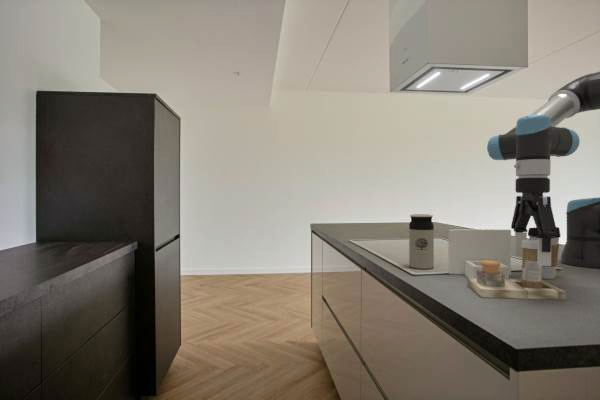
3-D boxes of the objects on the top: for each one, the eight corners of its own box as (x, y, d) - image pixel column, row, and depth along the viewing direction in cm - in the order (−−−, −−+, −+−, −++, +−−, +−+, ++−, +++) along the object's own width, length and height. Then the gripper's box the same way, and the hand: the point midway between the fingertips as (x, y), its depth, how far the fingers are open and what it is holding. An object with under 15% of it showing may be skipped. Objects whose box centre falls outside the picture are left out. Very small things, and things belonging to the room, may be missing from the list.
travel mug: (412, 264, 138) (412, 214, 138) (435, 266, 134) (435, 214, 134) (406, 268, 131) (406, 215, 131) (430, 270, 127) (430, 215, 127)
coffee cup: (565, 280, 112) (566, 228, 111) (533, 279, 114) (533, 228, 113) (552, 274, 120) (553, 226, 120) (523, 273, 122) (523, 225, 121)
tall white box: (508, 274, 120) (509, 229, 120) (525, 283, 109) (525, 233, 108) (448, 272, 123) (448, 229, 123) (458, 281, 111) (458, 233, 111)
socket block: (541, 287, 104) (542, 269, 104) (565, 300, 92) (565, 279, 92) (467, 285, 107) (467, 267, 107) (481, 297, 95) (481, 277, 95)
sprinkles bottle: (524, 289, 102) (524, 238, 102) (544, 292, 99) (544, 240, 99) (519, 293, 99) (519, 240, 98) (540, 296, 96) (540, 242, 95)
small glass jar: (496, 279, 102) (496, 260, 102) (502, 283, 98) (502, 263, 98) (478, 278, 103) (478, 259, 103) (484, 282, 98) (484, 263, 98)
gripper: (499, 179, 111) (498, 252, 111) (539, 175, 86) (538, 269, 87) (527, 179, 110) (526, 253, 110) (575, 175, 85) (574, 270, 86)
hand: (531, 260), depth 98 cm, fingers open, 13 cm apart
